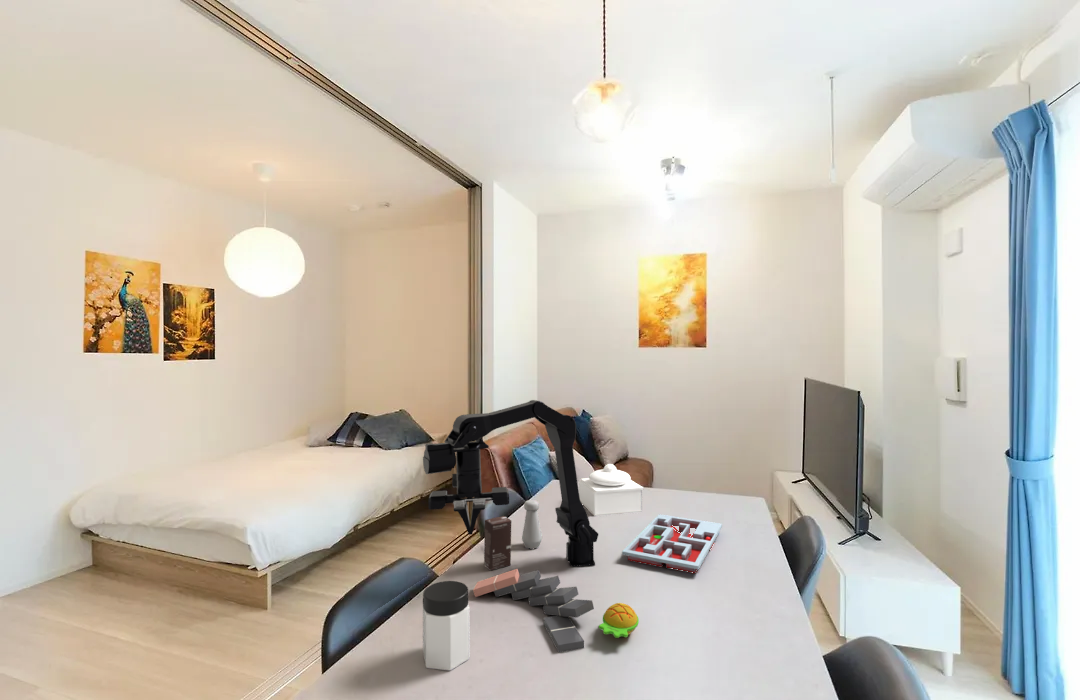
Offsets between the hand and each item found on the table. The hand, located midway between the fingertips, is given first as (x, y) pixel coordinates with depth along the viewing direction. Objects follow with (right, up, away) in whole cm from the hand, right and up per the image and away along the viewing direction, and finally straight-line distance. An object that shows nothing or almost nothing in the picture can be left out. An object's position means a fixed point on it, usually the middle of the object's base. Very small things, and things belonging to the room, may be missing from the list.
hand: (470, 533), depth 117 cm
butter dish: (+42, -13, +61) cm, 75 cm away
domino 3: (+11, -12, -5) cm, 17 cm away
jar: (-1, -12, -28) cm, 30 cm away
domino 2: (+7, -11, -3) cm, 14 cm away
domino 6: (+20, -12, -16) cm, 28 cm away
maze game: (+55, -13, +23) cm, 62 cm away
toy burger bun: (+32, -12, -21) cm, 40 cm away
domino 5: (+19, -11, -11) cm, 25 cm away
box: (+6, -13, +11) cm, 18 cm away
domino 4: (+16, -12, -7) cm, 21 cm away
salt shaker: (+14, -13, +24) cm, 31 cm away
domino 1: (+2, -11, -4) cm, 12 cm away
